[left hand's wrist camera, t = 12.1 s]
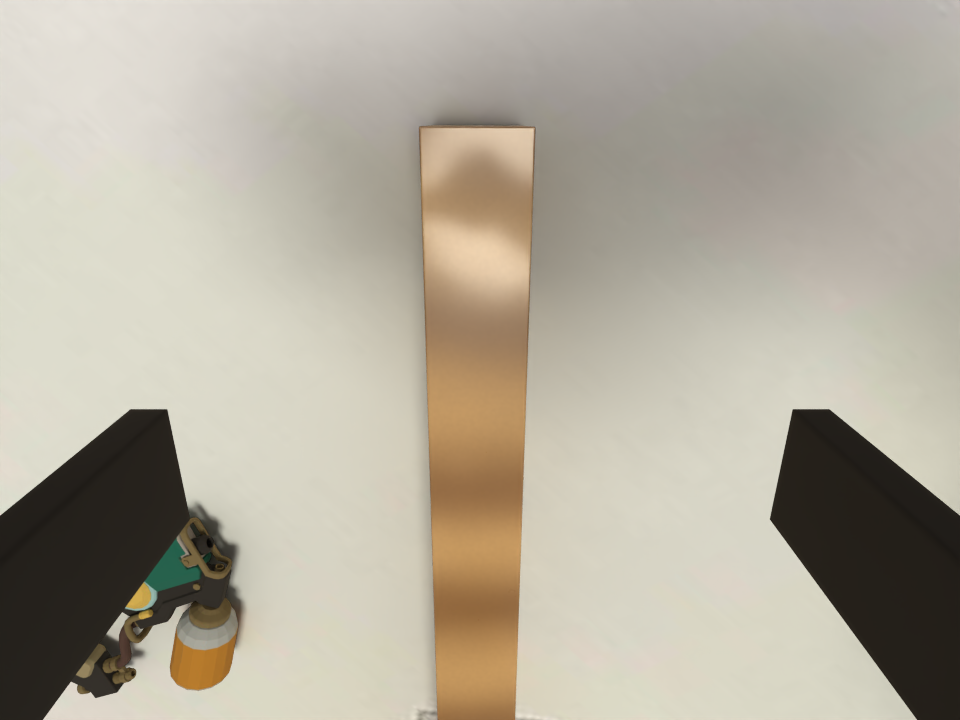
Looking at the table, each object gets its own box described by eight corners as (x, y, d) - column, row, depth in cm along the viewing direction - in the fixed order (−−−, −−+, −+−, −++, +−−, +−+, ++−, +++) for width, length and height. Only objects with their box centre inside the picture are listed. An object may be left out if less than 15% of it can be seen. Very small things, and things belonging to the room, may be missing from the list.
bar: (432, 125, 34) (418, 126, 26) (522, 125, 34) (535, 126, 26) (450, 907, 60) (447, 1023, 53) (501, 907, 60) (504, 1023, 53)
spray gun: (75, 669, 49) (12, 512, 44) (273, 666, 48) (230, 502, 43) (36, 716, 45) (-39, 548, 40) (250, 713, 44) (200, 539, 39)
